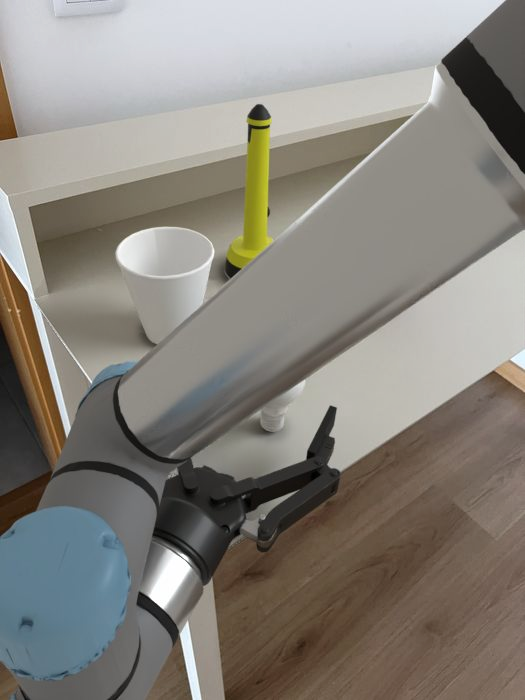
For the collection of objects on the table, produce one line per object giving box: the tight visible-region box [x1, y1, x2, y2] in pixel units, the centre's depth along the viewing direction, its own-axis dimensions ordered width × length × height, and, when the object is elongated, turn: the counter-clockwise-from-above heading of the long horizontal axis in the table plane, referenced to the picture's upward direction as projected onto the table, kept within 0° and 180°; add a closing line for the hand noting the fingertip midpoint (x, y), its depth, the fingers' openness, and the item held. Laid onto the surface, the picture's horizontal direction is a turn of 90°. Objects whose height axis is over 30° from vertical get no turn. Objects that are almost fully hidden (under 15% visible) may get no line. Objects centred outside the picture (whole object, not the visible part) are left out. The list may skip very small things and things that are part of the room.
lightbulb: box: [259, 378, 307, 433], centre depth 63 cm, size 6×6×11 cm
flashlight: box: [224, 103, 275, 280], centre depth 82 cm, size 25×9×9 cm
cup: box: [114, 226, 215, 345], centre depth 74 cm, size 12×12×12 cm
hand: (271, 394), depth 62 cm, fingers open, 13 cm apart
